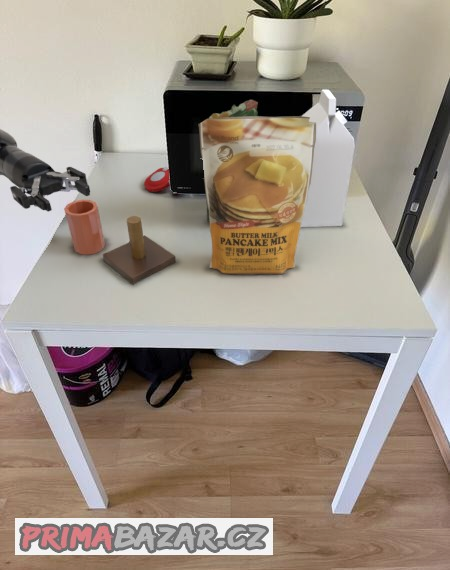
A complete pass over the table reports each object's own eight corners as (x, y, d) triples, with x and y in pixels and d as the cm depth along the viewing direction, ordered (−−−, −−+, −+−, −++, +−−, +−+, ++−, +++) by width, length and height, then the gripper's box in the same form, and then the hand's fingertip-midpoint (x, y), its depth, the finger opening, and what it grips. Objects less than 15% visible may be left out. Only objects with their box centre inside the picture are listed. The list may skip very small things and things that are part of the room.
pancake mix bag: (202, 254, 88) (198, 111, 70) (297, 254, 88) (318, 112, 71) (201, 275, 83) (197, 126, 65) (303, 275, 83) (326, 127, 65)
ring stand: (133, 284, 81) (126, 241, 75) (103, 260, 86) (94, 218, 80) (175, 262, 86) (172, 220, 80) (145, 241, 92) (140, 200, 86)
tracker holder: (135, 187, 108) (153, 162, 113) (143, 201, 111) (160, 176, 116) (178, 185, 102) (194, 159, 108) (185, 200, 105) (200, 174, 111)
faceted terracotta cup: (77, 257, 87) (67, 217, 81) (72, 241, 91) (62, 203, 85) (107, 250, 89) (99, 211, 83) (101, 235, 93) (93, 197, 87)
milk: (281, 200, 106) (293, 85, 89) (328, 199, 106) (349, 84, 90) (290, 227, 96) (305, 104, 80) (342, 226, 97) (367, 103, 80)
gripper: (-10, 166, 89) (29, 194, 80) (54, 146, 97) (96, 169, 88) (2, 200, 94) (40, 229, 85) (62, 178, 102) (103, 203, 93)
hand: (69, 198), depth 87 cm, fingers open, 8 cm apart
